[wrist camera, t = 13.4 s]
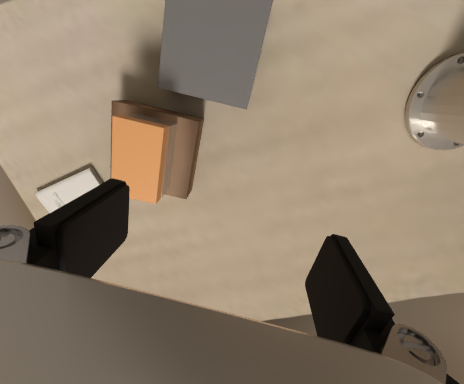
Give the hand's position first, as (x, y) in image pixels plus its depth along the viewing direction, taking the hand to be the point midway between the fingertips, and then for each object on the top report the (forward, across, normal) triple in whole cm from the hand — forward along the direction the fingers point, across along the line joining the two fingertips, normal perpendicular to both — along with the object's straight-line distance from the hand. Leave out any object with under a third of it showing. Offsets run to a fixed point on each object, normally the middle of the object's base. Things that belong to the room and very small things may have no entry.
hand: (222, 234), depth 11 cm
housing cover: (+19, +13, +5) cm, 23 cm away
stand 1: (+26, +13, +5) cm, 30 cm away
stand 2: (+27, +7, -10) cm, 30 cm away
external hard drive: (+26, +27, +18) cm, 42 cm away
